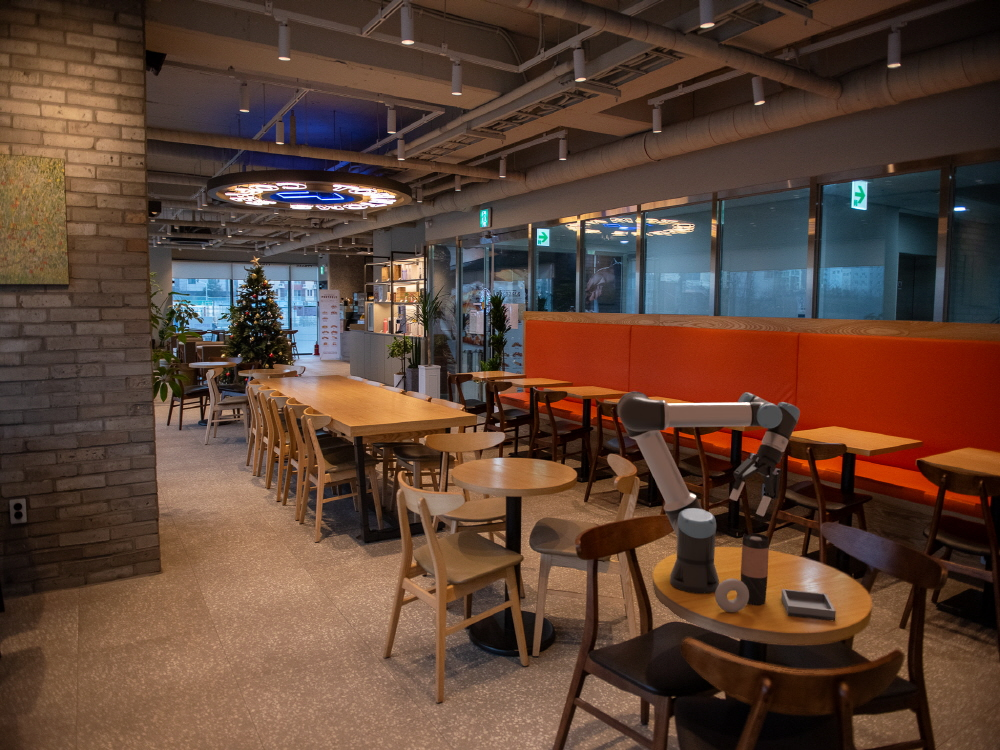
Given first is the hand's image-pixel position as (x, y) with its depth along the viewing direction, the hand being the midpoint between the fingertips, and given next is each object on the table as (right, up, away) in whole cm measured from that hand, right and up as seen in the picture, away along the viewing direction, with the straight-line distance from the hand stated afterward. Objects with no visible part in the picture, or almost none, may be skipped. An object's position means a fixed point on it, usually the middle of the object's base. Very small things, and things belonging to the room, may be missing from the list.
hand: (746, 507), depth 222 cm
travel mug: (-3, -26, -13) cm, 29 cm away
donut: (-12, -27, -21) cm, 36 cm away
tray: (+11, -26, -19) cm, 35 cm away
